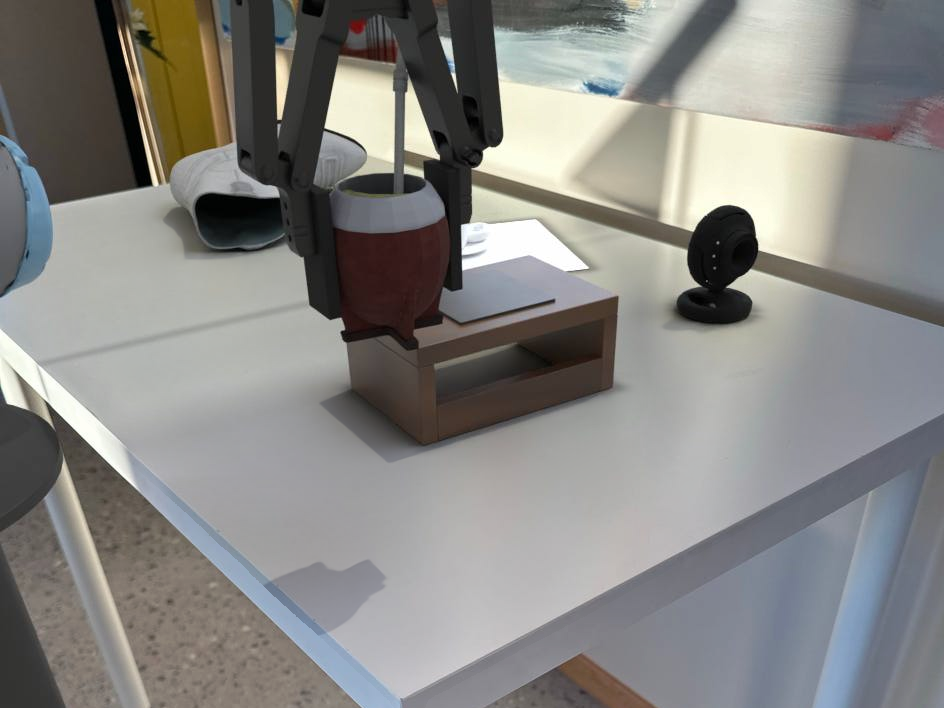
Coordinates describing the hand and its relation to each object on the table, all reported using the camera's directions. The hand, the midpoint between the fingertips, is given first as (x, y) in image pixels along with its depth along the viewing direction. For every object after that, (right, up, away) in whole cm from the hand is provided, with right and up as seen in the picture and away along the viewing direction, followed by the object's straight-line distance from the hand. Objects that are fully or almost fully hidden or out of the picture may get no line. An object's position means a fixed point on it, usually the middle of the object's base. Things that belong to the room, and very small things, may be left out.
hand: (387, 296), depth 56 cm
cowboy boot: (-20, +36, +71) cm, 82 cm away
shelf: (+5, +2, +29) cm, 30 cm away
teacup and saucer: (+5, +26, +59) cm, 64 cm away
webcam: (+29, +13, +42) cm, 53 cm away
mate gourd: (0, -1, +1) cm, 2 cm away
